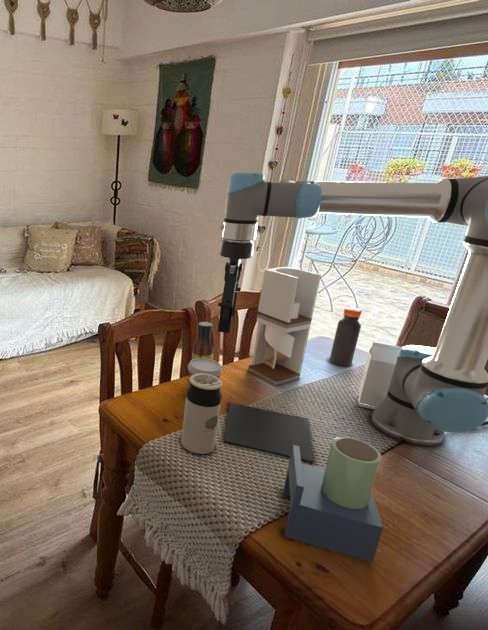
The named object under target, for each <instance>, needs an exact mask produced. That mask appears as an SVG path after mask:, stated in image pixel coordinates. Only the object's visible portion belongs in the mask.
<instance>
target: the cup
mask: <svg viewBox="0 0 488 630" xmlns="http://www.w3.org/2000/svg"><path fill="white" fill-rule="evenodd" d="M382 459H383V458H382V454H381V452H380V451H379V450H378V448H376V447H374V445H372V444H370V443H368V442H367V441H364V440H361V439H358V438H355V437H350V436H338V437H336V438H333V440H332V441H331V445H330V449H329V453H328V457H327V460H326V465H325V472H324V476H323V480H322V484H321V489H322V492H323V493H324V494H325V496H326V497H327V498H329V499H330V500H331V501H333V502H334V503H336V504H338V505H341V506H343V507H346V508H351V509H362V508H364V507H366V506H367V505H368V501H369V498H370V495H371V492H372V493H373V488H374V484H375V481H376V479H377V476H378V472H379V467H380V464H381V462H382Z"/></svg>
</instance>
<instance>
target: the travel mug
mask: <svg viewBox="0 0 488 630" xmlns="http://www.w3.org/2000/svg"><path fill="white" fill-rule="evenodd" d="M189 380H190V383H191V385H190V386H188V387H187V389H186V396H185V403H184V404H185V405H184V413H183V422H182V430H181V437H180V438H181V440H180V443H181V445H182V446H183V448H185V449H186V450H187V451H189V452H190V453H194V454H199V455H201V454H202V455H203V454H204V455H205V454H209V453H212V452H213V451H214V449H215V445H216V438H217V432H218V424H219V419H220V412H221V406H222V405H221V404H222V400H223V399H222V398H223V394H222V391H221V388H222V387H223V385H224V384H223V381H222V380H221V379H220V377H219V378H218V377H216V376H213V375H210V374H203V373H199V374H194V375H192V376H191V377H190V378H189V377H188V381H189Z"/></svg>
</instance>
